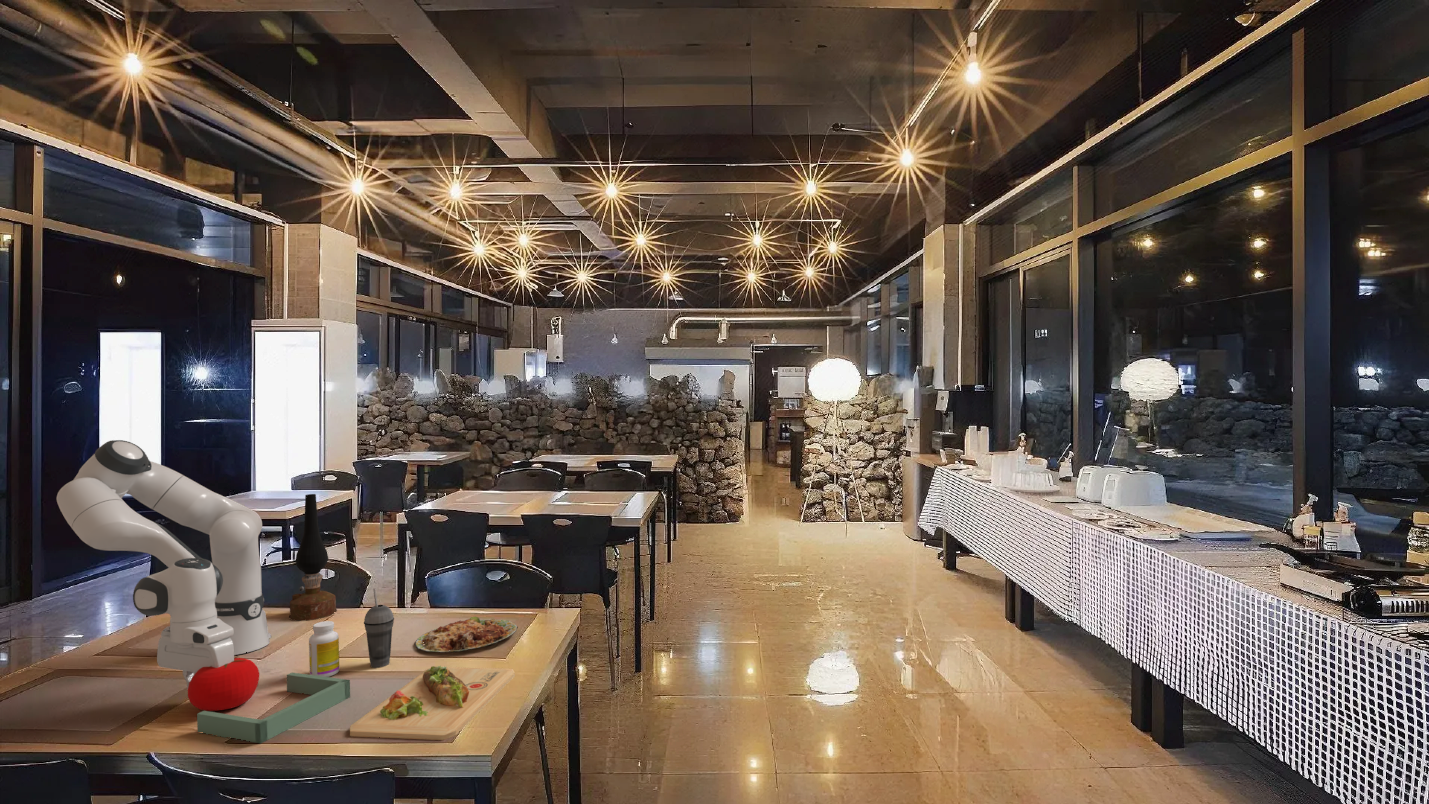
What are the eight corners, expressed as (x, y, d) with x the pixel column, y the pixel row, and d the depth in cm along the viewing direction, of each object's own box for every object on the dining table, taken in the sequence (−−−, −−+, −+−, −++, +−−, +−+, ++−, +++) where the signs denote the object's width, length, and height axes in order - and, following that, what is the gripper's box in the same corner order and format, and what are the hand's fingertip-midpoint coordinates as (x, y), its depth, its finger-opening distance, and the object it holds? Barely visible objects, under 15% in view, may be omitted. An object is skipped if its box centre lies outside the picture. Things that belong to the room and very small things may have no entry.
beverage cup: (383, 670, 182) (381, 593, 181) (358, 668, 183) (356, 591, 183) (401, 660, 189) (399, 585, 189) (377, 658, 190) (375, 584, 190)
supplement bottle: (345, 670, 182) (344, 620, 182) (323, 680, 176) (322, 629, 176) (325, 667, 184) (324, 618, 184) (303, 677, 178) (302, 626, 178)
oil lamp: (344, 620, 235) (370, 500, 239) (303, 626, 221) (332, 499, 225) (314, 611, 240) (340, 494, 244) (273, 616, 226) (301, 492, 230)
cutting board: (450, 743, 144) (449, 706, 144) (343, 739, 146) (342, 702, 146) (518, 675, 178) (517, 646, 178) (430, 673, 181) (430, 643, 181)
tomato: (226, 720, 154) (224, 673, 154) (172, 718, 156) (171, 671, 156) (274, 693, 169) (273, 649, 168) (225, 691, 170) (224, 648, 170)
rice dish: (393, 654, 197) (392, 635, 197) (461, 620, 223) (460, 603, 223) (475, 666, 187) (474, 646, 187) (536, 629, 213) (535, 611, 213)
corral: (197, 732, 149) (197, 713, 149) (292, 688, 171) (292, 672, 171) (260, 743, 144) (260, 723, 144) (350, 696, 166) (349, 679, 166)
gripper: (148, 629, 164) (149, 689, 165) (212, 638, 158) (213, 699, 158) (176, 621, 170) (177, 678, 171) (239, 629, 164) (240, 688, 164)
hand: (195, 688), depth 164 cm, fingers closed
